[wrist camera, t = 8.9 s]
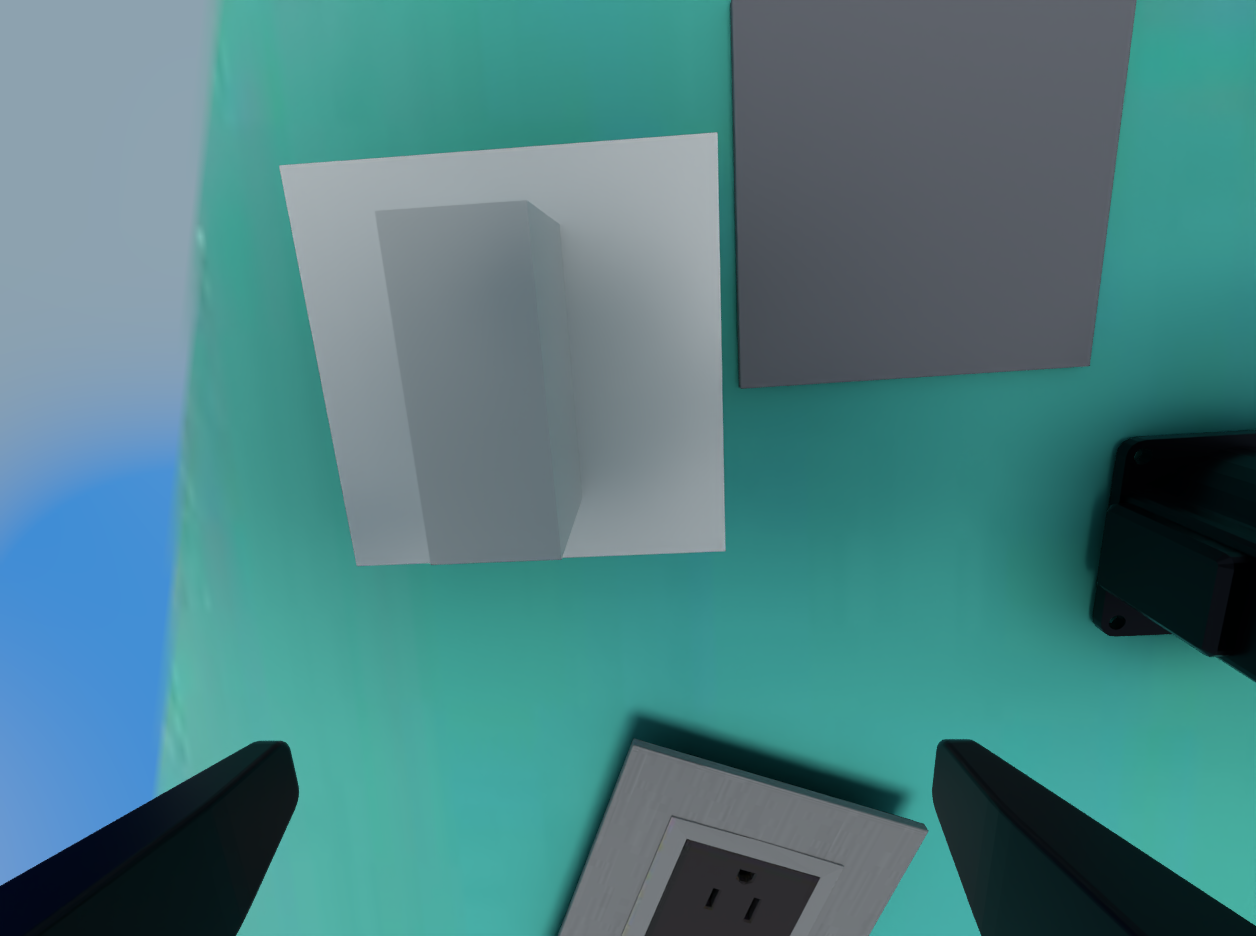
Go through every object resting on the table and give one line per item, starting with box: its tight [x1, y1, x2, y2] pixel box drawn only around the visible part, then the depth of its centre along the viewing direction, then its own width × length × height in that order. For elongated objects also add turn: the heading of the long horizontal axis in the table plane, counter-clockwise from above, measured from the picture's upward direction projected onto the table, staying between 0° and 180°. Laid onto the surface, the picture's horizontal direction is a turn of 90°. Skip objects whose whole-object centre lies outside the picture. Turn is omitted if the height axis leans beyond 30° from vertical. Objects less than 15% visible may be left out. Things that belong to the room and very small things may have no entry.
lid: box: [279, 132, 725, 566], centre depth 12 cm, size 9×9×4 cm
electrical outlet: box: [558, 739, 928, 936], centre depth 23 cm, size 13×10×2 cm
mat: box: [730, 0, 1136, 389], centre depth 17 cm, size 10×10×1 cm
